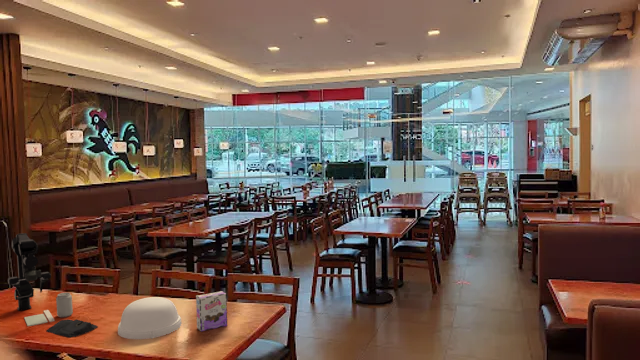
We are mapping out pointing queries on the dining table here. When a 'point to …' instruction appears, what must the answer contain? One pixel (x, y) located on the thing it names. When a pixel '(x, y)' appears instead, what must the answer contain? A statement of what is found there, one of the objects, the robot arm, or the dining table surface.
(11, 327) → the dining table surface
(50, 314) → the strip
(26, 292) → the robot arm
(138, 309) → the dome cover
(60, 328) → the dark slate chunk
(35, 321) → the pad
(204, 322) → the candy box
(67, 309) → the can
